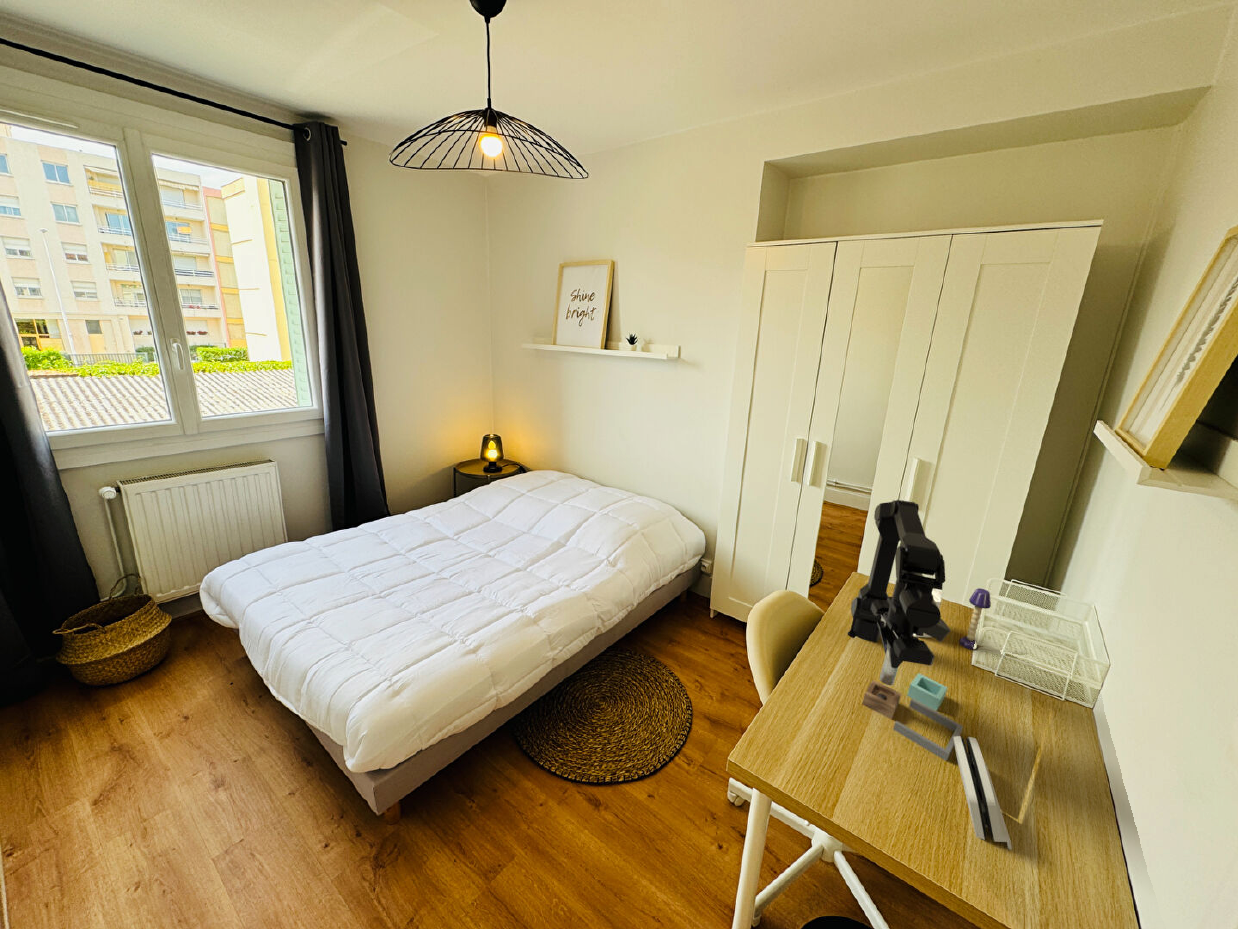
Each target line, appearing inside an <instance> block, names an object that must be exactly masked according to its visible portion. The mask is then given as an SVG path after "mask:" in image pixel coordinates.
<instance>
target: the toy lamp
mask: <svg viewBox="0 0 1238 929" xmlns="http://www.w3.org/2000/svg"><path fill="white" fill-rule="evenodd" d="M968 602H969V603H970V604H971V605H973V606H974V609H973V610H972V613H973V614H971V619H970V624H969V626H968V630H967V634H966V635H967V636H963V637H961V638H960V639H959V641H958V643H959V644H960V645H961V646H962V647H964V648H966V649H968V650H972V651H973V647H974V644H975V641H976V640H975V639H976V637H975V636H976V634H977V629H978V625H979V624H980V623H979V620H980V619H981V615H982V610H983V609H984V610H985V609H990V608H991V605H992V601H991V593H990V591H989V590H987V589H984V588H976V589H975V590H974V592H973V593H972V595H971V596H970V598H969V600H968Z"/></svg>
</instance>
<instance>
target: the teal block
mask: <svg viewBox="0 0 1238 929" xmlns="http://www.w3.org/2000/svg"><path fill="white" fill-rule="evenodd" d="M908 687H909V688H908V692H907V694H906V695H907V697H909V698H911V699H914V700H916V701H918V702H919V703H921V704H923V705H925V706H927V707H929V708H931V709H932V710H934V711H936V712H938V710H939V708H940V706H941V704H942V702H943V701H944V700H945V696H946V693H947V691H948V687H947V686H946V685H943V684H941V683H939V682H938V681H935V680H934V679H931V678H930V677H927V676H926V675H924V674H921V673H920V672H918V673H917V674H916V675H915V677H914V678H913V680H912V682H910V684H909V686H908Z"/></svg>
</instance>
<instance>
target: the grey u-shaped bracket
mask: <svg viewBox="0 0 1238 929" xmlns="http://www.w3.org/2000/svg"><path fill="white" fill-rule="evenodd" d="M908 707H909V708H911V709H912V710H913V711H916V712H918V713H920V714H921V715H923V716H925V717H926V718H929V719H930V720H932V721H933V722H936V723H937V724H940V725H941V726H943V727H945V728H947V729H949V730H950V731H952V732H953V734H952V736H951V738H950V739H949V742H948V743H947V745H946V747H945V748H944V747H942V746H941V745H939V744H938V743H936V742H934V741H933V740H930V739H928V738H927V737H926V736H923V735H922V734H920V733H918V732H917V731H915V730H913V729H912V728H910V727H908V726H906V725H905V724H903V723H902V722H900V721H898V720H895V722H894V725H893V727H892V728H893V729H892V730H894V731H895V732H897V733H898V734H900V735H902V736H903V737H905V738H906V739H909V740H910V741H912V742H913V743H915V744H917V745H919V746H920V747H922V748H923V749H925V750H927V751H928V752H931V754H934V755H935V756H936V757H938V758H940V759H942V760H944V761H945V762H947V761H948V759H949V757H950V755H951V754H952V751H953V750H954V748H955V744H954V738H953V737H956V736H960V737H961V734H962V731H963V728H964V725H963V724H960V723H959V722H957V721H955V720H953V719H951V718H949V717H948V716H945V715H943V714H942V713H940V712H938V711H935V710H933V709H931V708H929V707H928V706H926V705H924V704H922V703H920V702H918V701H916V700H915V699H913V698H911V699H910V702H909V705H908Z"/></svg>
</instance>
